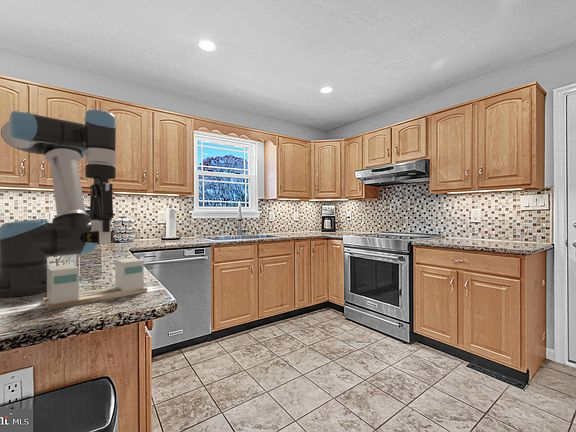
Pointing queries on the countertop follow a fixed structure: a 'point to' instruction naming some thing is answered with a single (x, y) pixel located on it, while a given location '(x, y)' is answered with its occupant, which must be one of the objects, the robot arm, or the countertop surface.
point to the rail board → (93, 296)
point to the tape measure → (92, 237)
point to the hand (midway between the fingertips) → (100, 242)
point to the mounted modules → (67, 279)
